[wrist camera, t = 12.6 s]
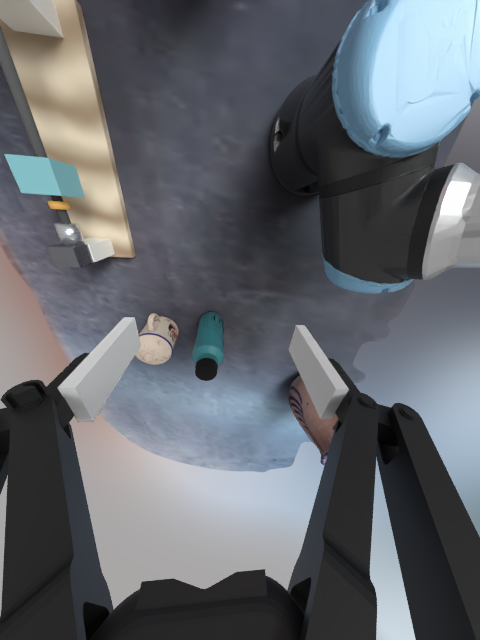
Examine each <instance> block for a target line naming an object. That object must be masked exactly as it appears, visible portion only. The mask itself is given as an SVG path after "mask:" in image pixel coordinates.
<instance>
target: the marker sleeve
mask: <svg viewBox="0 0 480 640" xmlns="http://www.w3.org/2000/svg"><path fill="white" fill-rule="evenodd" d="M4 155H5V157H6V159H7V162H8V164H9V166H10V168H11V170H12V173H13V175H14V177H15V179H16V182H17V184H18V186H19V188H20V191H21V193H28V194H39V195H50V196H51V195H55V196H64V197H78V198H85V196H84V192H83V189H82V186H81V183H80V179H79V176H78V173H77V170H76V166H73V165H70V164H67V163H63V162H60V161H57V160H54V159H50V158H44V157H33V156H22V155H11V154H4Z"/></svg>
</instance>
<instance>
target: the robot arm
mask: <svg viewBox="0 0 480 640" xmlns="http://www.w3.org/2000/svg"><path fill="white" fill-rule="evenodd" d="M479 96H480V0H369V1H368V2H366V3H365V4H364V5H363V7H362V9H361V10H359V11H358V12H357V14H356V15H355V17H354V18H353V19H352V21H351V22H350V24H349V25H348V27H347V29H346V31H345V33H344V35H343V36H342V39H341V40H340V42H339V43H338V45H337V46H336V48H335V49H334V51H333V52H332V54H331V55H330V57H329V58H328V60H327V61H326V62H325V64H324V65H323V67H322V68H321V70H320V71H319V73H318V74H317V75H314V76H312V77H309V78H307V79H306V80H304V81H303V82H301V83H300V84H299V85H298V86H297V87H296V88H295V89H294V90H293V91H292V92H291V93H290V94H289V96H288V97H287V98H286V100H285V102H284V103H283V105H282V107H281V109H280V110H279V112H278V114H277V116H276V119H275V122H274V125H273V128H272V132H271V138H270V160H271V165H272V168H273V171H274V174H275V176H276V178H277V180H278V181H279V183H280V184H281V185H282V186H283V187H284V188H285V189H286V190H288V191H289V192H291V193H293V194H296V195H312V194H316V193H319V204H320V220H321V235H322V251H321V254H322V258H323V260H324V268H325V273H326V276H327V277H328V278H329V280H330V281H331V282H332V283H333V284H335V285H336V286H338V287H340V288H343V289H346V290H349V291H353V292H358V293H368V294H377V293H381V291H385V292H393V291H397V290H400V289H402V288H404V287H406V286H407V285H409V284H410V282H411V281H413V279H424V280H428V279H431V278H432V277H434V276H436V275H438V274H440V273H442V272H443V271H445V270H447V269H450V268H453V267H479V268H480V174H477V173H476V172H474V171H473V170H472V169H470V168H469V167H467V166H466V165H464V164H463V163H459V164H455V165H450V166H447V167H443V168H439V169H435V163H436V158H437V153H438V148H439V143H440V140H442V139H443V138H444V137H445V136H446V135H447V134H449V133H450V132H451V131H452V130H453V129H454V128H455V127H456V126H457V125H458V124H459V123H460V122H461V121H462V120H463V119H464V118H465V117H466V115H467V114H468V112H469V111H470V110H471V107H470V104H471V103H472V102H473V101H474V100H475V99H477V98H478V97H479ZM140 346H141V344H140V339H139V335H138V330H137V326H136V321H135V318H131V317H124V318H123V319H122V320H121V321H120V322H119V323H118V324H117V325H116V326H115V327H114V329H113V330H112V331H111V332H110V333H109V334H108V335H107V336H106V337H105V338H104V339H103V340H102V341H101V342H100V343H99V344H98V345H97V346H96V348H95V349H94V350H93V351H92V352H91V353H84V354H82V355H80V356H79V357H77V358H75V359H74V360H73V361H72V362H71V363H70V364H69V366H67V367H66V368H65V369H64V370H63V372H61V373H60V374H59V375H58V376H57V377H56V378H55V379H54V380H53V381H52V382H51V383H50V384H49V385H48V386H47V387H46V386H45V385H44V383H43V382H42V381H40V380H30V381H27V382H23V383H21V384H19V385H17V386H14V387H13V388H11V389H9V390H8V391H7V392H6V393H5V394H4V395H3V396H2V398H1V401H2V402H3V403H4V404H5V406H6V407H7V408H3V409H0V494H1V491H2V488H3V486H4V483H5V480H6V478H7V475H8V485H7V506H6V527H5V548H4V569H3V590H2V610H1V617H0V640H376V622H377V598H376V592H375V588H374V586H373V584H372V582H371V580H370V571H369V570H370V551H371V535H372V518H373V502H374V501H373V500H374V485H375V484H374V483H375V468H376V457H377V461H378V466H379V470H380V475H381V480H382V484H383V489H384V494H385V498H386V503H387V508H388V512H389V517H390V522H391V526H392V531H393V536H394V540H395V545H396V550H397V554H398V559H399V564H400V568H401V573H402V578H403V582H404V587H405V591H406V596H407V600H408V605H409V610H410V615H411V619H412V624H413V629H414V633H415V638H416V640H480V537H479V535H478V533H477V531H476V529H475V527H474V525H473V523H472V521H471V519H470V517H469V515H468V513H467V511H466V509H465V506H464V504H463V502H462V500H461V498H460V496H459V494H458V492H457V490H456V488H455V486H454V484H453V482H452V480H451V478H450V476H449V474H448V471H447V470H446V467H445V465H444V464H443V461H442V459H441V457H440V455H439V453H438V451H437V449H436V447H435V445H434V443H433V441H432V439H431V437H430V435H429V433H428V430H427V428H426V426H425V424H424V422H423V420H422V418H421V417H420V415H419V414H418V413H417V412H416V411H414V410H413V409H412V408H410V407H409V406H407V405H404V404H401V403H395V404H394V405H393V406H392V407H391V408H390V407H386V406H383V405H379V404H377V403H376V402H375V401H374V400H373V399H372V398H371V397H369V396H368V395H366V394H363V393H360V391H359V390H358V389H357V387H356V386H355V385H354V383H353V382H352V381H351V379H350V378H349V377H348V375H347V374H346V373H345V371H343V369H342V367H341V366H340V364H339V363H337V362H336V361H335V360H334V359H328V358H327V357H326V355H325V354H324V353H323V351H322V350H321V348H320V347H319V345H318V344H317V342H316V341H315V340H314V338H313V337H312V335H311V334H310V332H309V331H308V330H307V328H306V327H305V325H296V327H295V330H294V334H293V337H292V340H291V344H290V347H289V352H290V354H291V356H292V358H293V360H294V363H295V365H296V367H297V369H298V371H299V373H300V376H301V378H302V380H303V382H304V384H305V387H306V389H307V391H308V393H309V395H310V398H311V400H312V402H313V404H314V406H315V408H316V411H317V413H318V415H319V417H320V419H332V418H333V416H334V414H335V413H336V415H337V417H338V421H337V422H336V424H335V425H334V427H333V430H334V433H333V437H332V441H331V444H330V448H329V452H328V455H327V459H326V463H325V466H324V470H323V474H322V477H321V481H320V485H319V489H318V492H317V495H316V499H315V503H314V506H313V510H312V514H311V518H310V521H309V525H308V528H307V532H306V536H305V539H304V543H303V547H302V550H301V553H300V556H299V558H298V560H297V562H296V565H295V567H294V570H293V573H292V576H291V580H290V584H289V587H288V590H285V588H284V587H283V586H281V585H280V584H279V583H278V582H277V581H275V580H273V579H272V578H270V577H268V576H265V570H254V571H243V572H236V573H234V574H232V575H231V576H229V577H227V578H225V579H223V580H222V581H220V582H218V583H216V584H215V585H213V586H211V587H209V588H207V589H200V588H198V587H195V586H192V585H190V584H187V583H184V582H181V581H178V580H176V579H165V580H155V581H145V582H142V583H141V588H140V589H139V590H138V591H136V592H134V593H133V594H132V595H130V596H129V597H127V598H126V599H125V600H124V601H123V602H122V603H120V604H119V605H118V606H117V607H116V608H115V609H114V610H113V605H112V601H111V596H110V592H109V589H108V586H107V583H106V581H105V579H104V576H103V574H102V571H101V568H100V562H99V558H98V553H97V549H96V543H95V538H94V534H93V529H92V524H91V519H90V514H89V510H88V505H87V500H86V495H85V491H84V486H83V481H82V476H81V471H80V466H79V462H78V457H77V452H76V447H75V442H74V438H73V433H72V428H71V425H70V424H69V422H70V420H71V419H72V418H73V416H75V418H76V420H77V421H78V422H93V421H94V420H95V418H96V416H97V415H98V413H99V412H100V410H101V409H102V407H103V405H104V404H105V402H106V401H107V399H108V397H109V396H110V394H111V393H112V391H113V389H114V388H115V386H116V385H117V383H118V381H119V380H120V378H121V377H122V375H123V373H124V372H125V370H126V369H127V367H128V365H129V364H130V362H131V361H132V359H133V357H134V356H135V354H136V353H137V351H138V349H139V348H140Z"/></svg>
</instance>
